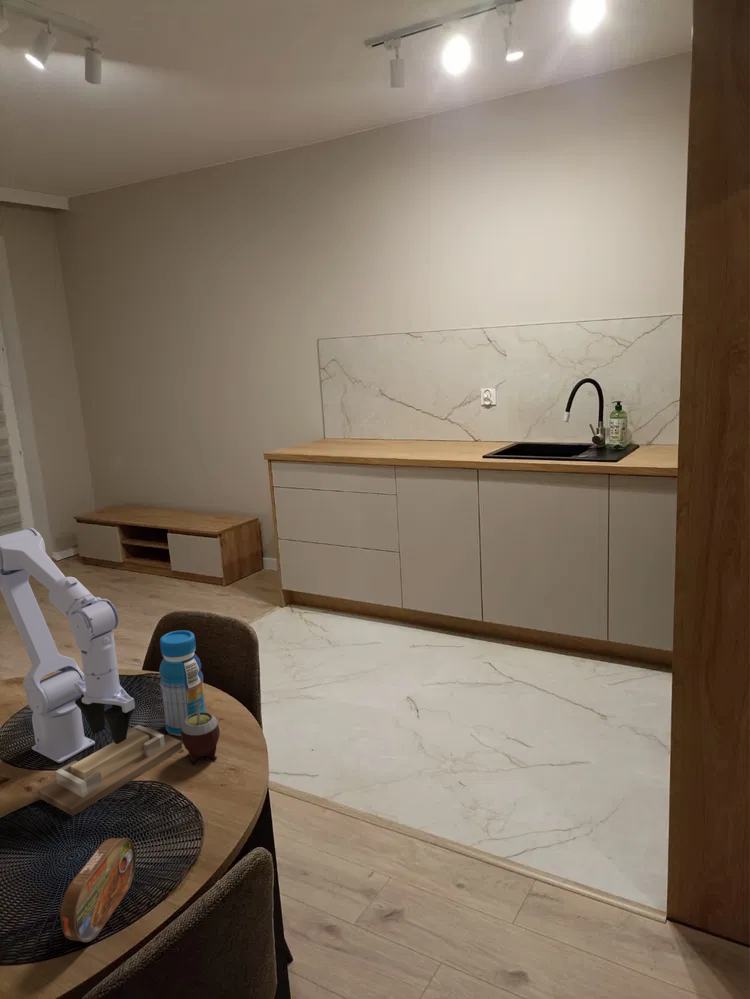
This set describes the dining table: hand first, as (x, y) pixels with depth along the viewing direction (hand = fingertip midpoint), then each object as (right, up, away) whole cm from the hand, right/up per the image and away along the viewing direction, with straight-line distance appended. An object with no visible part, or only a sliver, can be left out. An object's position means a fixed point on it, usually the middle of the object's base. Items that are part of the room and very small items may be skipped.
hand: (109, 736), depth 133 cm
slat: (0, -6, +1) cm, 6 cm away
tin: (+10, -15, -31) cm, 36 cm away
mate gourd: (+16, -6, +5) cm, 18 cm away
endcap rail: (0, -7, +2) cm, 7 cm away
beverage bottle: (+10, -4, +16) cm, 19 cm away
